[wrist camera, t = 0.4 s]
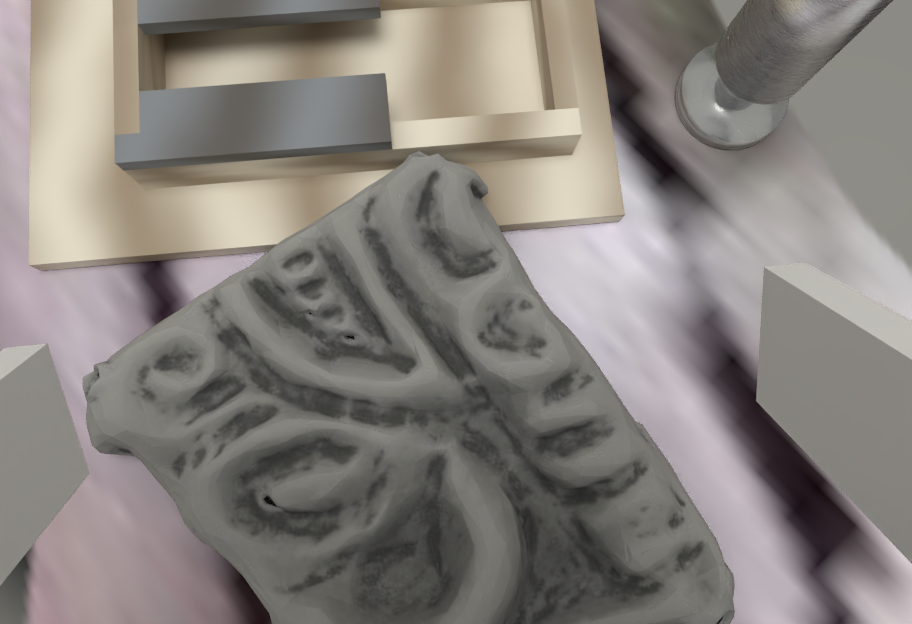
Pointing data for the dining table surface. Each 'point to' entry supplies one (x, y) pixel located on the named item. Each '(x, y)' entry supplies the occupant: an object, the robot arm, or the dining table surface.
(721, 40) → the peg
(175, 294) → the dining table surface
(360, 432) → the wall plaque
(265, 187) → the keyhole base
